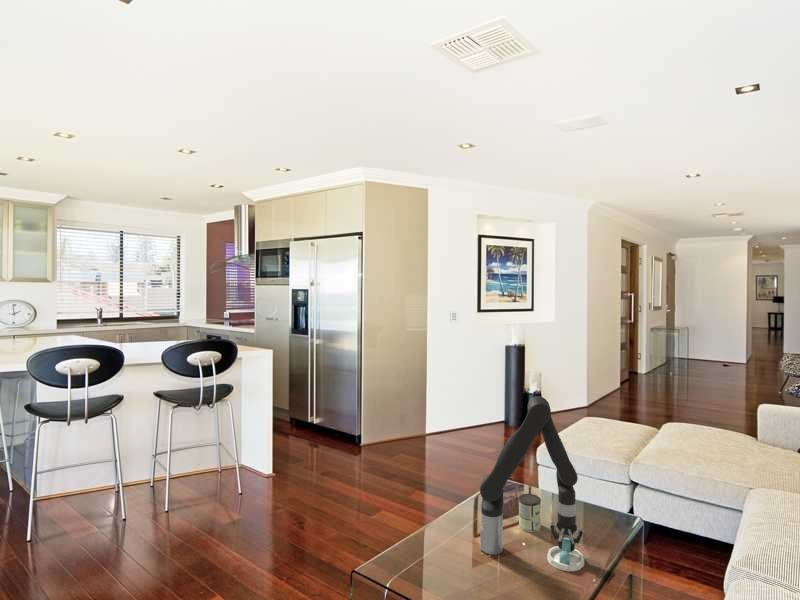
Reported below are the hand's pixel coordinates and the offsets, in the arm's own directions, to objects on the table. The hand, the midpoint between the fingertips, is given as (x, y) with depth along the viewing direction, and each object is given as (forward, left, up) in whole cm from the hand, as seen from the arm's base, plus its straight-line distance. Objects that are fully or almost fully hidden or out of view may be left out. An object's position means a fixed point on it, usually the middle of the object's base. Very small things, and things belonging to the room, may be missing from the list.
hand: (566, 549), depth 225 cm
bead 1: (0, 0, 0) cm, 0 cm away
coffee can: (-19, +18, -3) cm, 27 cm away
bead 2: (0, -7, -2) cm, 8 cm away
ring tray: (0, -4, -3) cm, 5 cm away
